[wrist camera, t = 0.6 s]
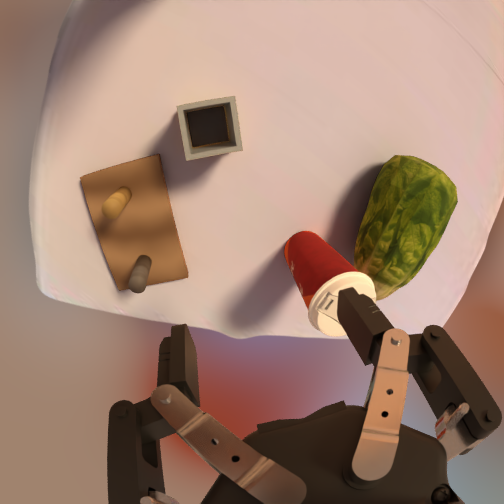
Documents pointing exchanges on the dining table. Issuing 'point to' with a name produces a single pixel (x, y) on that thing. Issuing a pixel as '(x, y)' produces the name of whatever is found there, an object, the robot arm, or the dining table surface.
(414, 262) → the lettuce
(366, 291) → the paper cup
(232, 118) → the sleeve
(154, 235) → the pin board
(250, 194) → the dining table surface
